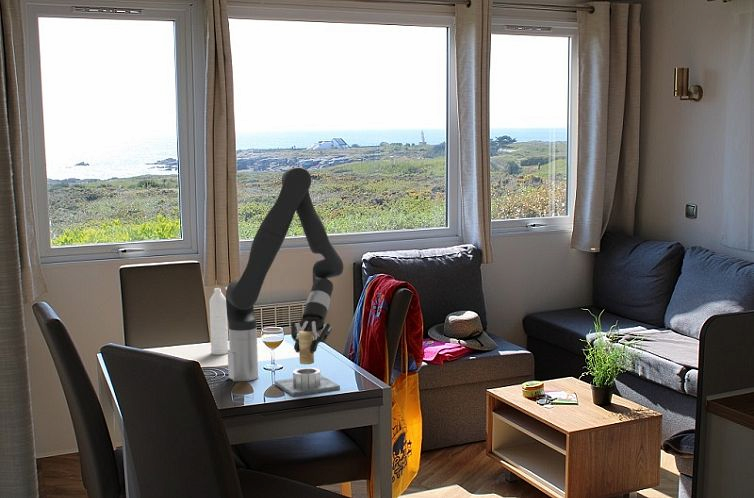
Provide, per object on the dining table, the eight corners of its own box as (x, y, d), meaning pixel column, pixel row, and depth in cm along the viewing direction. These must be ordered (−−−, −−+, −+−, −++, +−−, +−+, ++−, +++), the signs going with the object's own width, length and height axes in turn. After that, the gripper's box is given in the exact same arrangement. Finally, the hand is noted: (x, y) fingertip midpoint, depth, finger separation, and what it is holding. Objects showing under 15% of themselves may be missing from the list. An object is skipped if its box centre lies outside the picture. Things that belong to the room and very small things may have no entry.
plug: (303, 365, 277) (301, 334, 275) (297, 362, 281) (296, 331, 279) (316, 363, 279) (315, 332, 277) (310, 360, 283) (309, 330, 281)
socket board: (293, 396, 270) (292, 380, 269) (274, 384, 284) (274, 369, 283) (339, 389, 277) (339, 373, 276) (319, 378, 291) (319, 362, 291)
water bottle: (212, 355, 326) (209, 289, 323) (210, 351, 332) (208, 287, 329) (235, 353, 328) (233, 288, 325) (233, 350, 334) (231, 285, 332)
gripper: (293, 300, 287) (279, 344, 277) (334, 301, 282) (321, 346, 272) (300, 313, 292) (287, 356, 282) (340, 314, 288) (328, 358, 278)
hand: (304, 351), depth 277 cm, fingers closed on plug, 4 cm apart
